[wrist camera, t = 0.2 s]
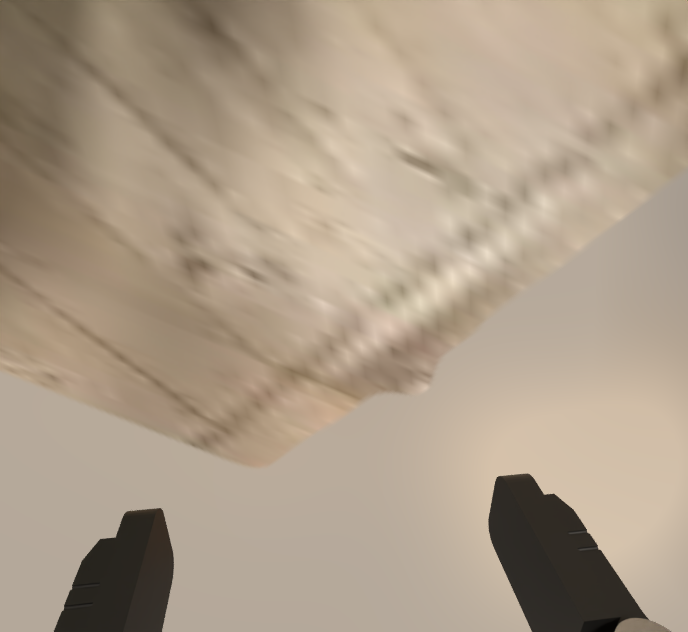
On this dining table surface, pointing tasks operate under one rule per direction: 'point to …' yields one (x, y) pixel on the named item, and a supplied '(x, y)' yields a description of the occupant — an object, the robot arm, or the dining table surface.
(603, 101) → the dining table surface
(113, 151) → the dining table surface
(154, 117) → the dining table surface
